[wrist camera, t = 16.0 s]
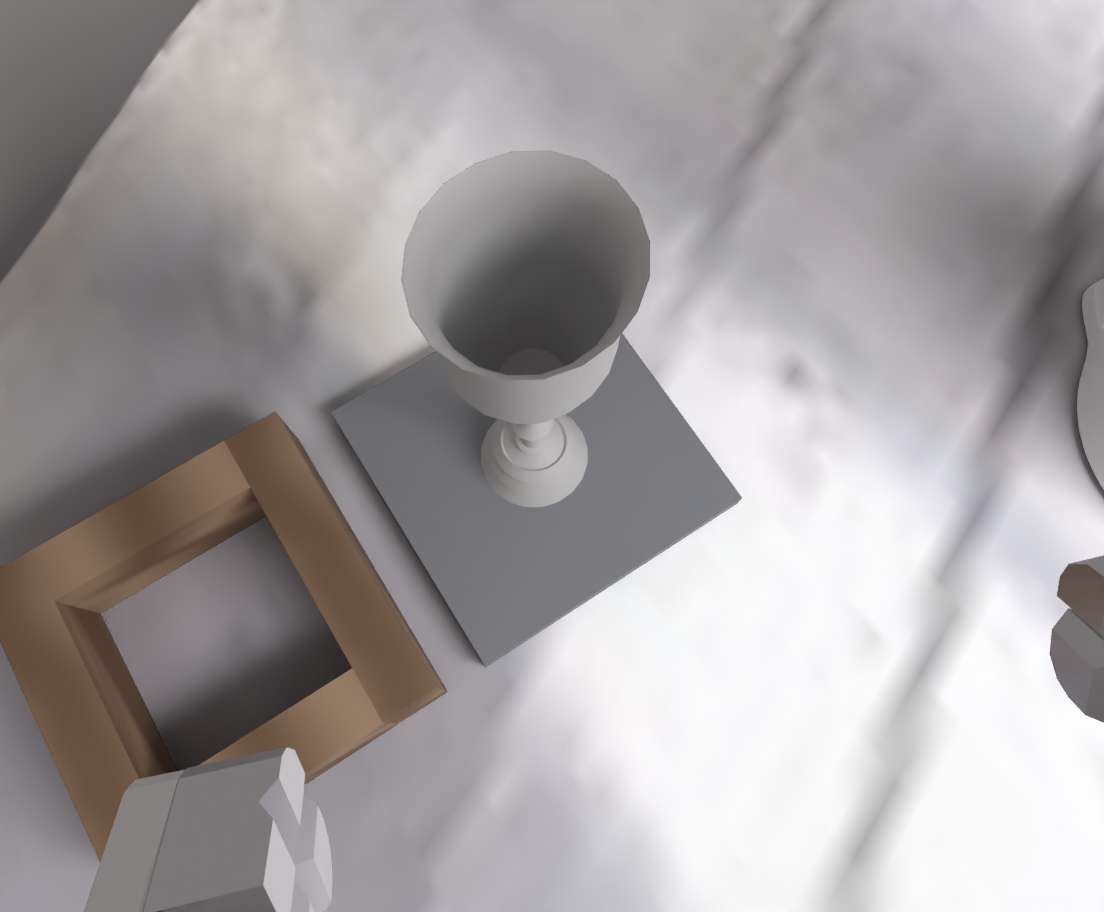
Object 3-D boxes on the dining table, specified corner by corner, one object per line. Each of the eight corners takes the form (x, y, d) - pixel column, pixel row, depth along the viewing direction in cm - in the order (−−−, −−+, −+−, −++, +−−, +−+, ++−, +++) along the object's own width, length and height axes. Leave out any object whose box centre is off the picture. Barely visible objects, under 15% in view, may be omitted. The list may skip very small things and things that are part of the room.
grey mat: (575, 280, 46) (576, 270, 45) (737, 503, 42) (741, 497, 41) (335, 419, 43) (330, 411, 42) (485, 666, 40) (484, 665, 39)
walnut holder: (299, 440, 43) (275, 411, 39) (447, 691, 40) (436, 687, 36) (27, 596, 41) (-27, 582, 37) (159, 878, 37) (115, 895, 33)
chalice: (506, 360, 43) (481, 114, 26) (633, 421, 42) (692, 207, 25) (433, 490, 41) (352, 316, 24) (563, 556, 40) (577, 424, 23)
